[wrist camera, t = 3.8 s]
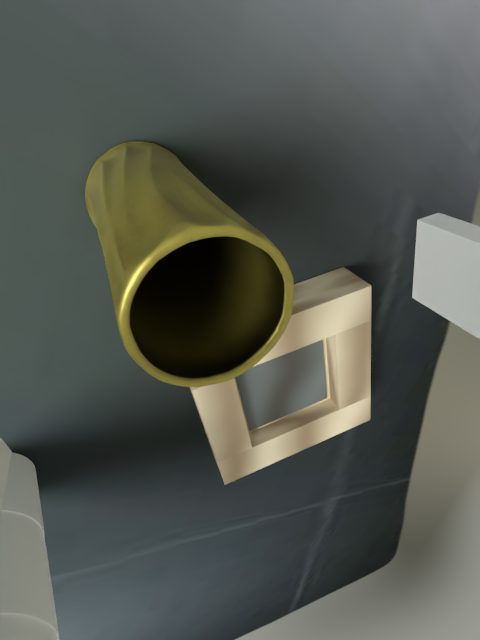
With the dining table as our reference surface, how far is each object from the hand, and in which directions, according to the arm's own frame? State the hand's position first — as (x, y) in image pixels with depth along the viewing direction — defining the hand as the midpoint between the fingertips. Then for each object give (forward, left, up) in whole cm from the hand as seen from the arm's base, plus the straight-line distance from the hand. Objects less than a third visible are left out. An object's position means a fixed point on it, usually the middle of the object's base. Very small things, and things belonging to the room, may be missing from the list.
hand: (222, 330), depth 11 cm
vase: (0, 0, -15) cm, 15 cm away
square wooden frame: (+6, -16, -15) cm, 22 cm away
